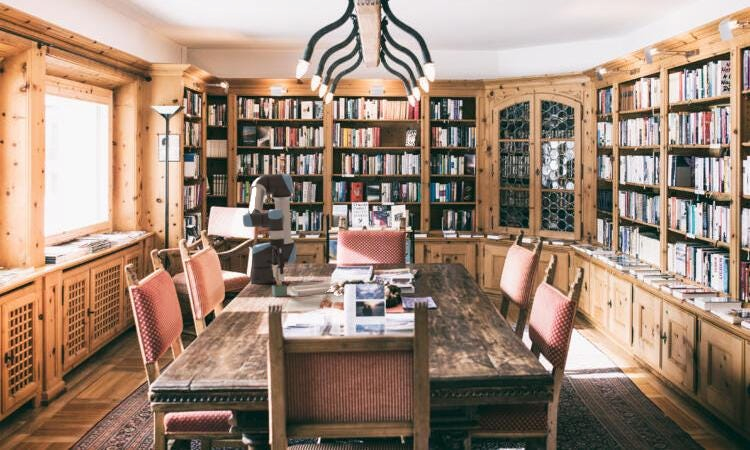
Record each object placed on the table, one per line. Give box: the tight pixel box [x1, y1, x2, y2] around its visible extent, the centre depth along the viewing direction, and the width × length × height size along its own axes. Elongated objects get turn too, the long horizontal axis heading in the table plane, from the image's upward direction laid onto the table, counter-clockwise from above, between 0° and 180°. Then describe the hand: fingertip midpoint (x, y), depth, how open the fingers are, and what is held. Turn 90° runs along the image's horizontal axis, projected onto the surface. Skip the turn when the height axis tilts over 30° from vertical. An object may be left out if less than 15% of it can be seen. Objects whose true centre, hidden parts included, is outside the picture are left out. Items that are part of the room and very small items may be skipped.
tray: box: [290, 282, 333, 297], centre depth 374 cm, size 16×22×2 cm
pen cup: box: [271, 283, 288, 297], centre depth 368 cm, size 7×7×5 cm
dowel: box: [275, 265, 283, 287], centre depth 367 cm, size 3×3×16 cm
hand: (278, 278), depth 367 cm, fingers open, 12 cm apart
